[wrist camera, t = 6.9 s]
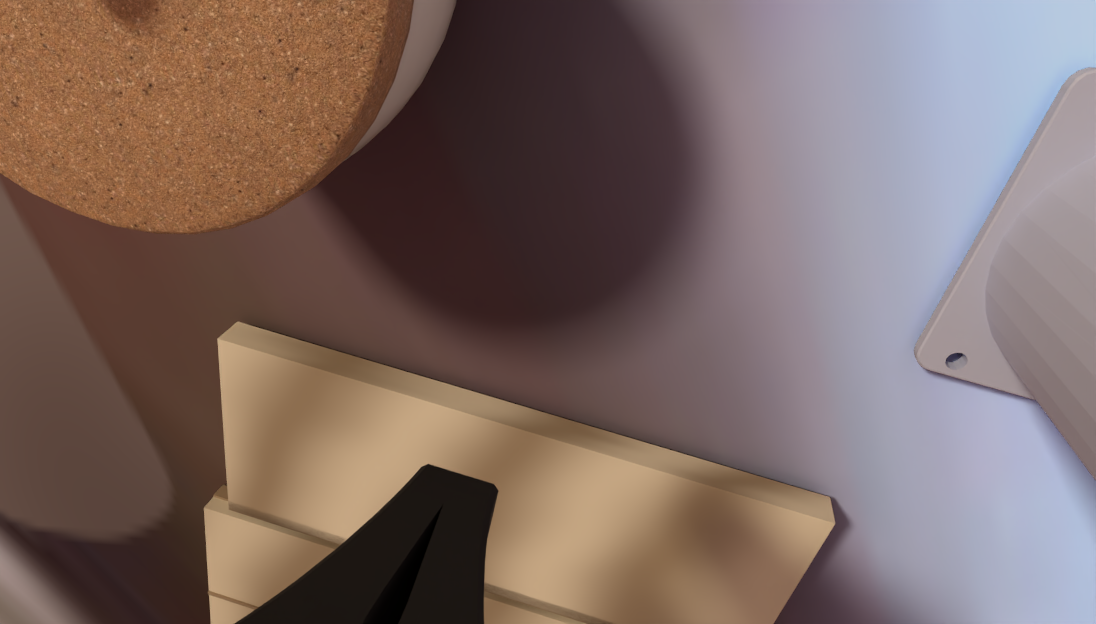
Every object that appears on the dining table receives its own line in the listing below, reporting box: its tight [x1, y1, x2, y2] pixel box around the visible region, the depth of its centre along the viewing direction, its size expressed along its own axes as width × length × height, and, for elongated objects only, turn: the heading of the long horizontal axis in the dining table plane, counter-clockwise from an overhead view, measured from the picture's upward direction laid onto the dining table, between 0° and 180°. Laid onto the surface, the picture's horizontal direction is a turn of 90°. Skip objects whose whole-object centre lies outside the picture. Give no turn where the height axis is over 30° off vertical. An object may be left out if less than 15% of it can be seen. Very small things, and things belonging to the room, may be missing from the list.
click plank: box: [218, 322, 835, 624], centre depth 24 cm, size 20×8×1 cm, turn 78°
